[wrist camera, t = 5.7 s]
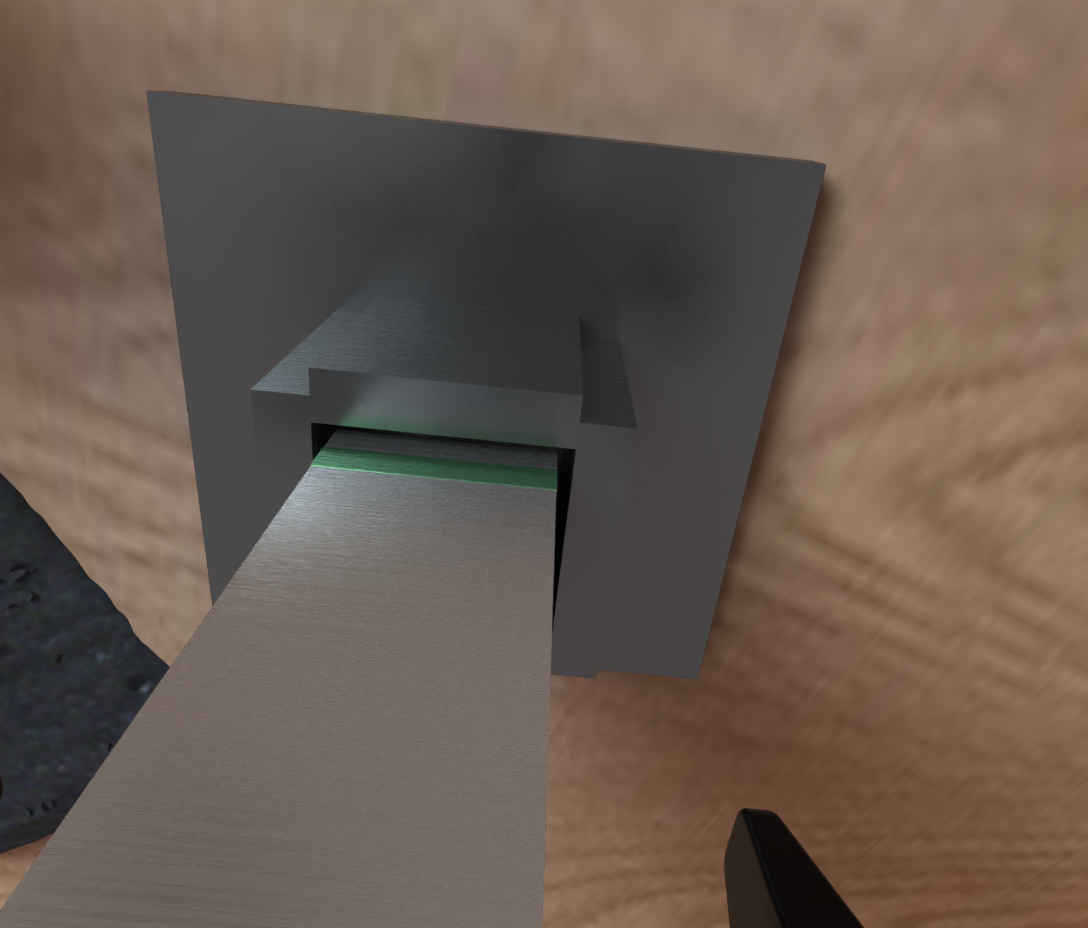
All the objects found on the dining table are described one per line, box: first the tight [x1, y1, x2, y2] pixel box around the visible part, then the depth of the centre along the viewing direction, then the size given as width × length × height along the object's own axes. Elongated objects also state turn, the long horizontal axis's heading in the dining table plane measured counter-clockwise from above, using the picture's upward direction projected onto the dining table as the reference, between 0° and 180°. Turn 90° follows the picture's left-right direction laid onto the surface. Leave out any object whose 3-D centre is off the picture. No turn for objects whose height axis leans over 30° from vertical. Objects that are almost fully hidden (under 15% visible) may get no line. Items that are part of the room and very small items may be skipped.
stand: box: [147, 91, 826, 679], centre depth 16 cm, size 14×14×6 cm
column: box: [0, 429, 558, 928], centre depth 10 cm, size 4×4×10 cm
